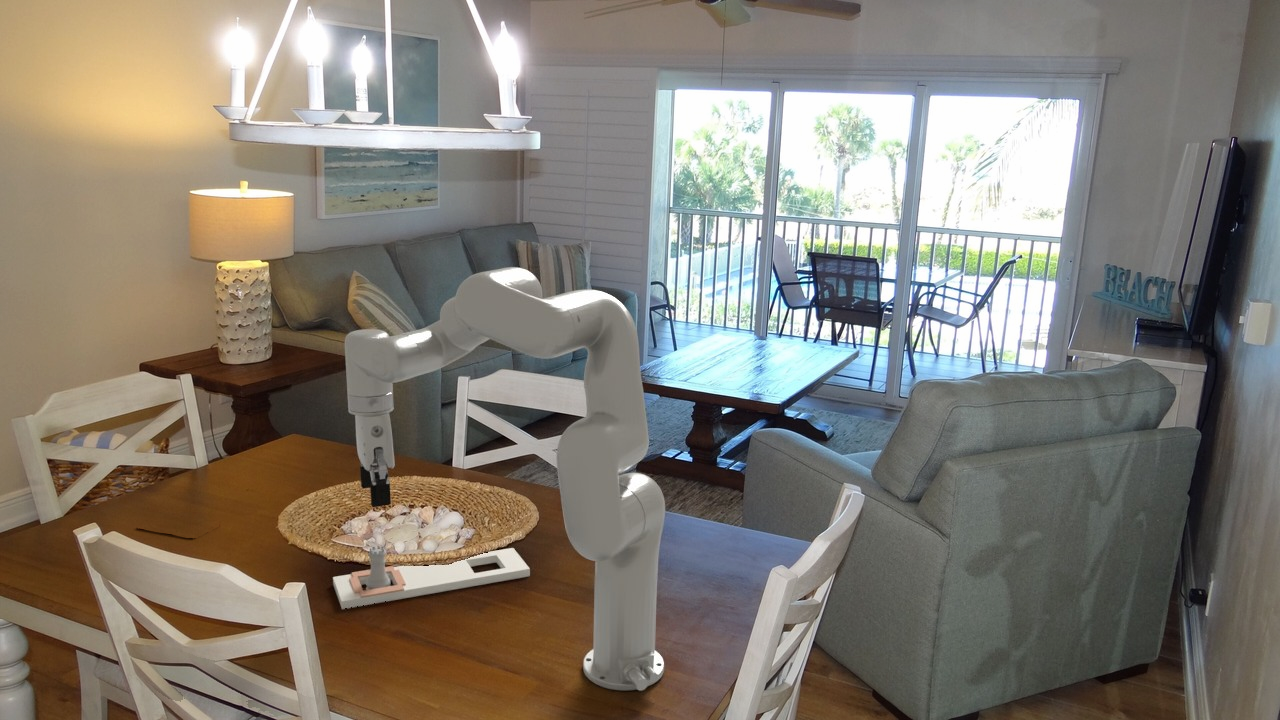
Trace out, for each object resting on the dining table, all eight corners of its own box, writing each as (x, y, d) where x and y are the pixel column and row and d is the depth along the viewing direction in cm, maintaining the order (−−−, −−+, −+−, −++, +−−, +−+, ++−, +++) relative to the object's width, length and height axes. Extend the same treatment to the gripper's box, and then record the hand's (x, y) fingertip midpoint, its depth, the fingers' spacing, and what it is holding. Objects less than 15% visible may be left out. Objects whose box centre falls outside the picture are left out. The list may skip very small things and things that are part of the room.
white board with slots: (529, 576, 182) (529, 567, 182) (341, 609, 168) (341, 599, 167) (513, 554, 191) (513, 546, 190) (333, 584, 176) (332, 575, 176)
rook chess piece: (384, 597, 172) (383, 555, 171) (361, 594, 173) (359, 552, 171) (395, 586, 177) (394, 545, 175) (372, 583, 177) (371, 542, 176)
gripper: (403, 412, 161) (407, 509, 165) (383, 388, 176) (387, 477, 180) (356, 417, 158) (362, 516, 161) (340, 392, 173) (345, 483, 177)
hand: (375, 496), depth 171 cm, fingers open, 9 cm apart
